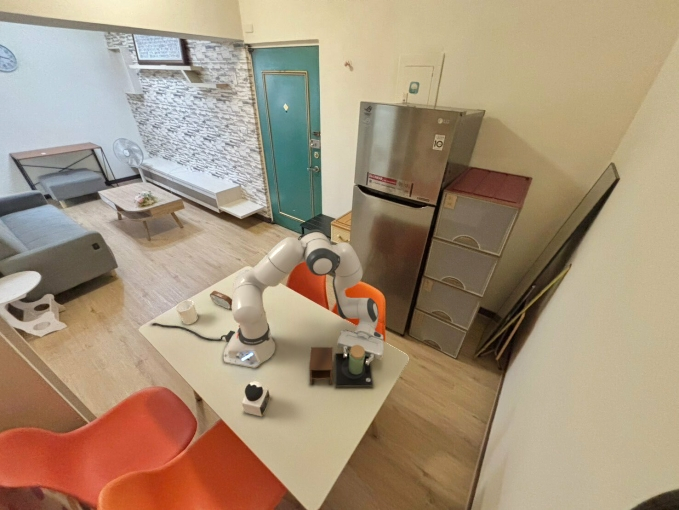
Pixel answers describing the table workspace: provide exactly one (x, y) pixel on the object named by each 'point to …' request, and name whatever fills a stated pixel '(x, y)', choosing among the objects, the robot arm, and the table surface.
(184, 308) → the white cup
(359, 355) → the jar
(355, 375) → the hot plate
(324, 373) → the wooden cubby
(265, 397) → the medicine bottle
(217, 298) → the tin
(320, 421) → the table surface
